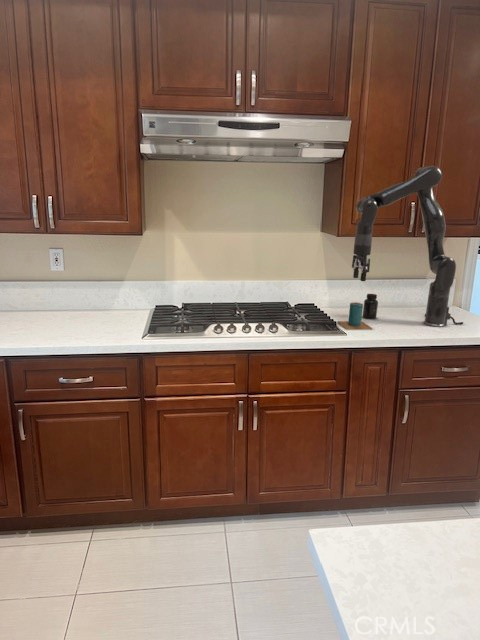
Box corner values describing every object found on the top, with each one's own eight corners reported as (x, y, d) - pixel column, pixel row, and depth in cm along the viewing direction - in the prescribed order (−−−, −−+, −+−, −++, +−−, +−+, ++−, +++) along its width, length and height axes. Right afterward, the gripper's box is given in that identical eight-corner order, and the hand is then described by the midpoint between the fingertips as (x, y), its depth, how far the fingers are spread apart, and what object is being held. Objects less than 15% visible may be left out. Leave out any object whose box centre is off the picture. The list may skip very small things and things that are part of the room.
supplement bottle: (376, 319, 232) (379, 296, 229) (362, 318, 233) (365, 295, 230) (375, 316, 238) (378, 293, 235) (362, 315, 240) (364, 292, 237)
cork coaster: (361, 322, 226) (361, 321, 226) (371, 329, 214) (371, 327, 214) (337, 322, 224) (337, 321, 224) (346, 329, 213) (347, 328, 212)
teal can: (357, 322, 222) (360, 302, 220) (362, 326, 217) (364, 305, 214) (346, 322, 221) (348, 302, 219) (350, 326, 216) (353, 305, 213)
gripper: (377, 245, 203) (373, 282, 207) (364, 242, 217) (360, 277, 221) (361, 245, 202) (357, 282, 206) (349, 242, 216) (345, 276, 220)
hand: (359, 279), depth 214 cm, fingers open, 8 cm apart
